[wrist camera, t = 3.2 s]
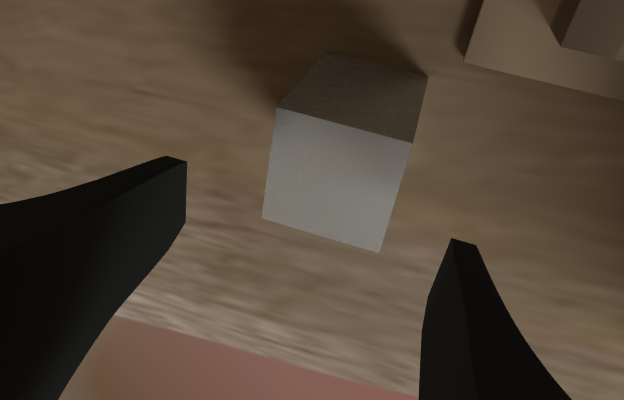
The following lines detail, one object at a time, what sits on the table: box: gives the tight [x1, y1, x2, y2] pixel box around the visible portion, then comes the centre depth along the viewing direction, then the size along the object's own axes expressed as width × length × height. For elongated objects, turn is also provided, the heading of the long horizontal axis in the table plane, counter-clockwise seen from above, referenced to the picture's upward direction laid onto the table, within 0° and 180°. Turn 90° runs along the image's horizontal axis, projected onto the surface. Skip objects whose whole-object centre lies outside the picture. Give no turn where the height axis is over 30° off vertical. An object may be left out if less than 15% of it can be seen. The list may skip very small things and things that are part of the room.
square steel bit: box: [262, 52, 428, 253], centre depth 18 cm, size 4×4×6 cm
